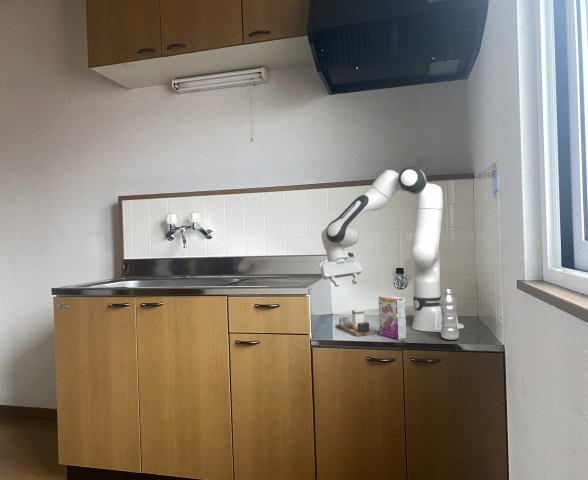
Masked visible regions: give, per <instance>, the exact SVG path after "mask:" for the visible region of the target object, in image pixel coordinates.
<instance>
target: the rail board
mask: <svg viewBox="0 0 588 480" xmlns="http://www.w3.org/2000/svg"><path fill="white" fill-rule="evenodd" d="M344 321H349V322H352V320H351V317H350V316H345V317H344V316H342V317H339V318H338V324H336V329H338V330H339V331H340V330H341V331H342V332H346V334H349V335H352V336H353V337H357V338H359V337H365V336H367V337H368V336H373V335H375V334H374V332H375V331H374V330H371V329H369V332H363V333H360V332H358V330H356V329H354V328H351V327H349V326H347V325H344Z"/></svg>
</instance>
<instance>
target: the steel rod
mask: <svg viewBox="0 0 588 480" xmlns="http://www.w3.org/2000/svg"><path fill="white" fill-rule="evenodd" d="M344 325H347V326H349V327H351V328H354V325H352V321H351V322H349V321H344ZM369 330H370V323H369V322H367V321H366V322H365V321H364V322H363V323H358V332H360V333H363V332H369Z"/></svg>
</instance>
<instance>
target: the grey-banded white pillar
mask: <svg viewBox="0 0 588 480" xmlns="http://www.w3.org/2000/svg"><path fill="white" fill-rule="evenodd" d="M364 314H365V312H364V309H362V308H357V309H351V318H352V319H351V322H352V325H354V329H356V330H358V323H363V322H365V317H364Z"/></svg>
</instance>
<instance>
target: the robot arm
mask: <svg viewBox="0 0 588 480" xmlns="http://www.w3.org/2000/svg"><path fill="white" fill-rule="evenodd" d="M399 191H403V192H406V193H408V194H411V195H415V196H416V199H417V200H416V210H415V211H416V213H415V214H416V215H415V220H414V221H415V223H414V230H413V236H412V244H411V251H410V253H411V258H412V259H411V260H412V261H414V265H413V266H414V267H413V268H414V271H413V293H414V295H413V300H412V301H413V308H414V311H413V320H412V325H411V329H413V330H415V331H421V332H435V333H441V327H442V315H441V308H440V303H439V302H440V299H441V297H442V296H441V281H440V280H441V277H440V276H441V275H440V274H441V257H440V256H441V254H440V253H441V251H440V246H439V245H440V239H441V231H442V225H443V224H442V222H443V212H444V193H443V188H442V187H441V186H440V185H438V184H437V183H431V182H430V183H429V182H428V178H427V176H426V174H425V173H424V171H422V170H421V169H420V168H419V167H416V166H412V165H411V166H407V167H404V168H403V169H401V170H400V172H399V173H398V172H397V171H395V170H393V169H387V170H384V171H383V172H382V173H381V174H380V175H379V176H378V177H377V178H376V179H375V180H374V181H373V183H372V184H371V185H370V186H369V187H368V188H367V190H366V191H365V192H363V193H362V194H361V195H359V196H358V197H357V198H355V199H354V200H353V201H352V202H351V203H350V204H349V205H348V206H347V207H346V209H345V210H343V212H342V213H341V214H340V215H339V216H338V217H336V219H334V220H331V221H330V222H329V224H328V225H327V227H326V228H324V229H323V230H322V232H321V241H322V245H323V248H324V250H325V251H326V256H327V257H326V258H327V259H324V260H320V261H319V262H318V266H319V267H318V268H319V269H320V274H321V278H322V279H323V280H330V281H331V283H332V284H334V287H339V286H340V284H339V281H336V279H338V278H344V277H352V278H353V279H352V280H351V282H352V285H356V284H358V281H357V278H358V275H360V274H361V273H362V272H363V267H362V265H361V262H360V260H359V259H358V258H357V254H356V253H354V252H351V251H345V248H349V247H352V246H354V245H355V244H357V242H359V241H358V240H359V231H358V229H357V228H355V227H353V226H351V224H352V223H353V222H354V221H355V220H356V219H357V217H359V215H361V214H363V213H365V212H369V211H370V212H371V211H379V210H381V209H383V208H384V207H385V206H386V205H388V203H389V202H390V201H391V200H392V199H393V197H394V196H395V195H396V193H397V192H399ZM456 320H457V328H458V330H459V329H464V328H465V325H464V324H462V323H459V320H458V315H457V314H456Z"/></svg>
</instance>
